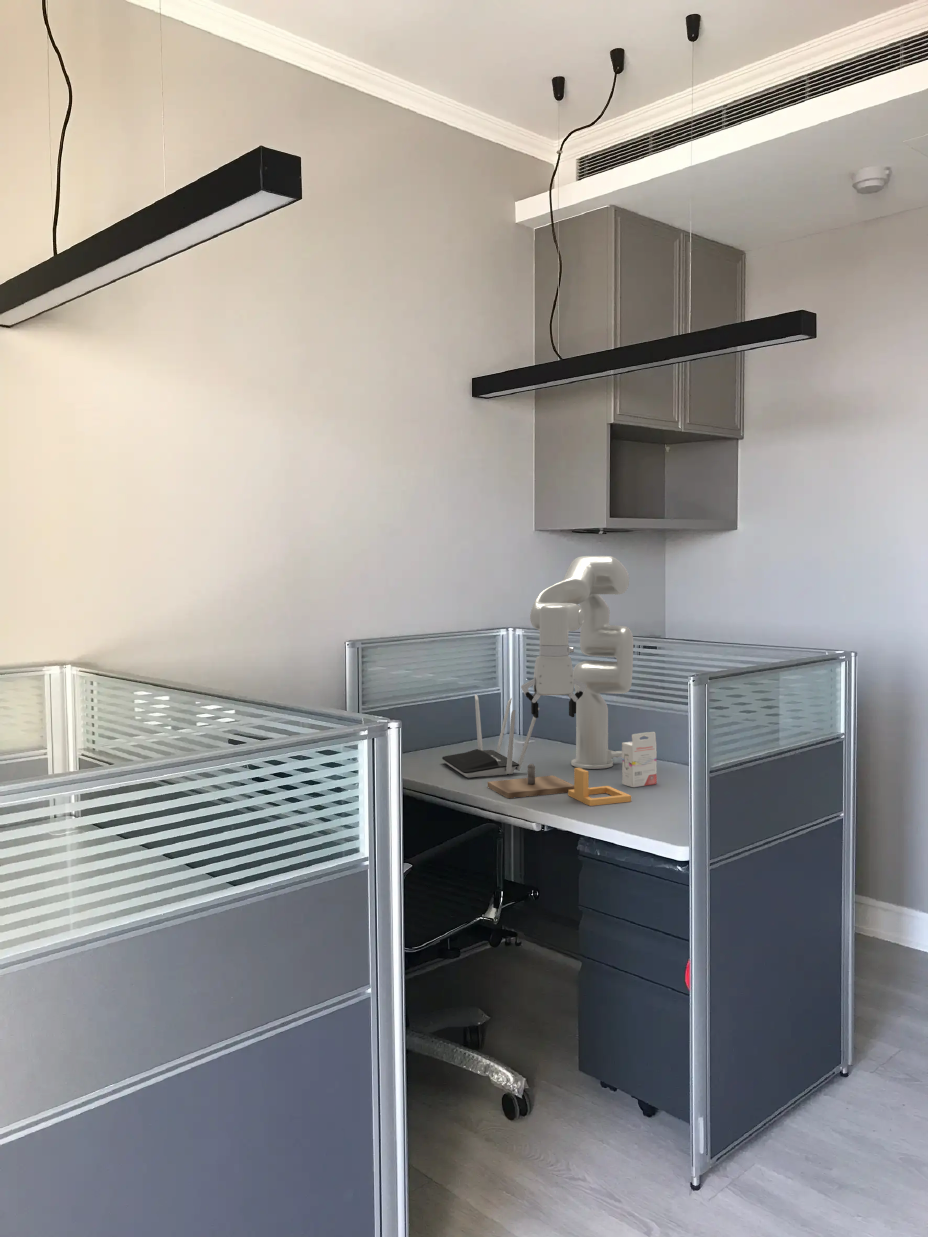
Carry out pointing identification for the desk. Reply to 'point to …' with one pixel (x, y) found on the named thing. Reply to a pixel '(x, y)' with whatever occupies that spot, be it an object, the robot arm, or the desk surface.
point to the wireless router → (489, 752)
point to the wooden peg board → (530, 785)
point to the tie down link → (594, 791)
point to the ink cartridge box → (639, 760)
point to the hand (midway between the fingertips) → (553, 716)
